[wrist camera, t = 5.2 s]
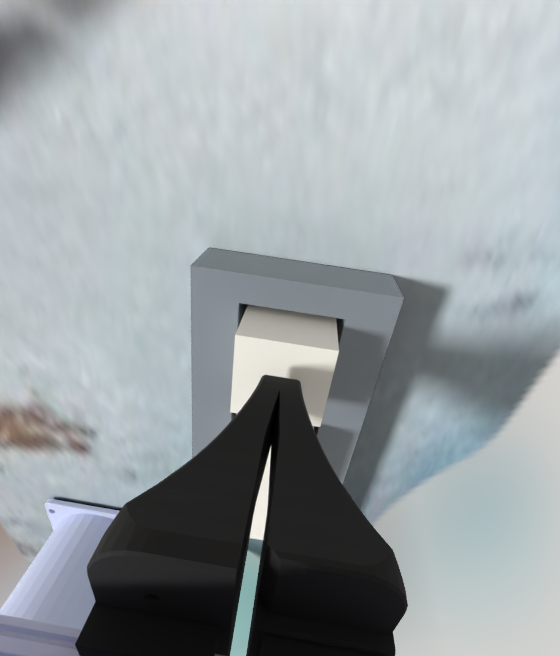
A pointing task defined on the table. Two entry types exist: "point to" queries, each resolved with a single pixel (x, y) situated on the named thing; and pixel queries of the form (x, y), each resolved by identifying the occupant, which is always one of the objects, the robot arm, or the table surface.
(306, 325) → the button
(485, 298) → the table surface
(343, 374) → the button board
